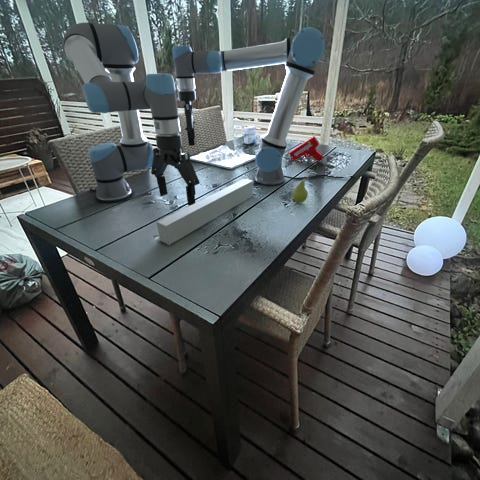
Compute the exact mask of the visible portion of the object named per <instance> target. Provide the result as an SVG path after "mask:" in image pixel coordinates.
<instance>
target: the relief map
mask: <svg viewBox="0 0 480 480" xmlns="http://www.w3.org/2000/svg"><path fill="white" fill-rule="evenodd" d="M189 157H190V161H193V162H198V163H203V164H207V165H211V166H215V167H219V168H223V169H227V170H233V169H235V168H238V167H241V166H243V165H245V164H248V163H250V162H252V161H256V155H253V154H252V155H251V154H247V153H245V151H244V150H243V149H242V148H238V149H235V150H232V149H230V147H229V146H228V145H223V144H221V145H220V146H218V147H215V148H214V149H210V150H208V151H205V152H200V153H198V154H196V155H193V156H189Z"/></svg>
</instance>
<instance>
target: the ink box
mask: <svg viewBox="0 0 480 480" xmlns="http://www.w3.org/2000/svg"><path fill="white" fill-rule="evenodd" d="M256 129H257V127H256V126H253V125H251V126H245V127H243V144H246V145H251V144H254V143H256Z"/></svg>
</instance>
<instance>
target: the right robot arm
mask: <svg viewBox="0 0 480 480" xmlns="http://www.w3.org/2000/svg"><path fill="white" fill-rule="evenodd" d="M325 48H326V41H325V37H324V35H323V33H322V32H321V31H320V30H319V29H317V28H316V27H313V26H312V27H311V26H308V27H304V28H302V29H300V30H299V31H298V32H296V34H295V35H294V36H291V37H286V38H285V39H284V40H282V41H278V42H273V43H266V44H260V45H259V44H258V45H253V46H252V45H251V46H246V47H240V48H234V49H227V50H220V51H219V50H203V51H202V50H201V51H193V50H192V47H191V45H175V46H173V47H172V61H173V66H174V74H175V80H176V81H174V83H175V85H176V90H178V91H177V98H178V99H177V100H178V101H179V102H184V105H182V106H183V111H184V116H185V124H186V127H185V128H184V129H185V131H186V135H187V141H188V146H196V134H195V133H196V132H195V124H196V122H195V120H194V117H193V116H194V105H193V104H192V102H194V101H196V100H197V95H196V91H195V90H196V82H195V75H196V74H212V75H213V74H214V75H215V74H220V73H224V72H231V71H238V70H244V69H245V70H246V69H253V68H260V67H267V66H276V65H282V64H284V65H285V66H284V67H285V70H286V75H285V77H284V81H283V84H282V87H281V90H280V93H279V96H278V99H277V103H276V105H275V108H274V112H273V113H272V117H271V120H270V123H269V126H268V130H267V133H265V134H262V135H260V137H259V146H258V149H257V152H256V153H255V156H256V159H255V164H256V166H257V171H256V174H255V178H254V181H255V183H258V184H259V185H262V186H263V185H264V186H279V185H281V184H283V183H284V181H285V178H286V179H292V180H305V179H306V178H307V177H308V176H301V177H293V176H289V175H284V172H283V171H284V170H283V167H282V165H283V157H284V155H285V152H286V150H287V147H288V142H287V141H286V139H287V136H288V134H289V131H290V129H291V127H292V123H293V121H294V118H295V115H296V112H297V110H298V108H299V105H300V102H301V99H302V97H303V94H304V91H305V89H306V86H307V83H308V81H309V79H311V78H312V77H314V75H315V73H316V70H317V67H318V64H319V62H320V60H321V59H322V57H323V55H324V53H325ZM315 175H316V176H314V175H310V176H311V177H309V178H307V179H311V178H318V177H327V178H332V179H344V178H345V177H342V176H336V177H334V176H335V175H330V176H328V175H329V174H315ZM349 178H351V179H352V178H354V177H353V175H352V176H349Z"/></svg>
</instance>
